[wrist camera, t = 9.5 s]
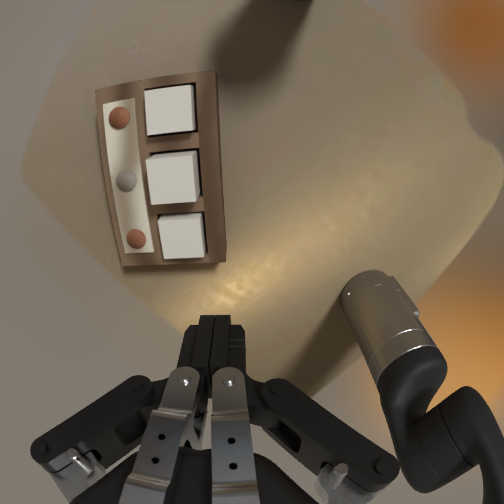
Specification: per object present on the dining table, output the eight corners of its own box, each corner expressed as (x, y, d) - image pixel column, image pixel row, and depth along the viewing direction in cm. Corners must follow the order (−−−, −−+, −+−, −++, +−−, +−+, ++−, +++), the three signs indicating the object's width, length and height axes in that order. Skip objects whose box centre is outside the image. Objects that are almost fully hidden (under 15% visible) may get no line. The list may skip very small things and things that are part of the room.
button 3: (195, 87, 30) (190, 84, 27) (197, 128, 32) (192, 130, 29) (153, 92, 30) (144, 91, 27) (155, 132, 32) (147, 135, 29)
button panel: (217, 74, 31) (214, 70, 27) (226, 247, 41) (225, 263, 37) (108, 90, 30) (93, 89, 26) (131, 252, 41) (121, 267, 37)
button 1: (203, 207, 37) (199, 218, 34) (206, 244, 39) (204, 257, 36) (164, 210, 37) (157, 220, 34) (169, 245, 39) (164, 258, 36)
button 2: (196, 150, 32) (192, 155, 29) (200, 192, 34) (196, 201, 31) (154, 154, 32) (145, 160, 29) (159, 195, 34) (151, 204, 31)
